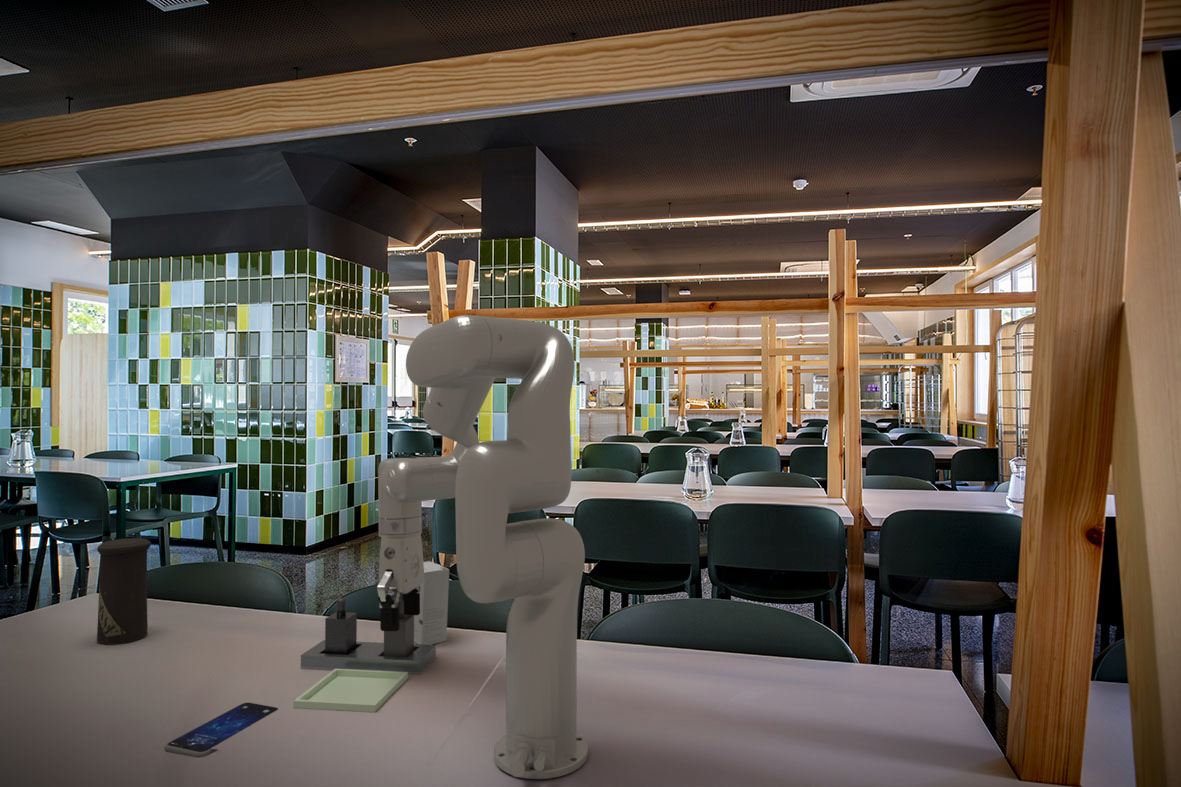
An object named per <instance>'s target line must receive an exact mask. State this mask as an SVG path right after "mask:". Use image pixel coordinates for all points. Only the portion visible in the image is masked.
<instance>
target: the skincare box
mask: <svg viewBox="0 0 1181 787" xmlns="http://www.w3.org/2000/svg"><path fill="white" fill-rule="evenodd" d="M423 564H424V581H423V583H422V584H421V585H420V588H421V589H420V592H419V593H420V614H419V615H414V644H423V645H436V644H439V643H443V641H444V642H446V641H447V632H448V630H447V629H448V612H449V611H448V610H449V590H450V589H449V584H450V569H449V568H447V567H445V566H442V565H441V564H439V563H436V562H432V561H429V560H428V561H423Z"/></svg>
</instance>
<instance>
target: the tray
mask: <svg viewBox="0 0 1181 787" xmlns="http://www.w3.org/2000/svg"><path fill="white" fill-rule="evenodd" d="M408 679H409V674H408V672H394V671H373V670H353V669H334V670H330V671H329V673H327V674H326V675H325V676H324V677H322V678H321V679H319V680H318V681H317V682H316V683H315V684H313V685H312V686H311V687H310V688H308V689H307V690H305V691H304V692H303V693H301V694H300V695H299V696H297V698H296V699H294V700H293V701H292V702H293V705H292V708H293V709H310V710H311V709H312V710H326V711H327V710H329V711H330V710H331V711H343V712H347V711H348V712H361V713H376V712H377V711H379V709H380V708H381V707H382V706H383V705H384V704H385V703H386V702H387V701H388V700H389V699H390V697H392V696H393V695H394V694H395V693H396V692H397V690H399V688H400V687H401V686H402V685H403V684H404V683H405V682H406V681H408Z"/></svg>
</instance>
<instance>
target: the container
mask: <svg viewBox="0 0 1181 787" xmlns="http://www.w3.org/2000/svg"><path fill="white" fill-rule="evenodd" d="M151 546H152V542H151V541H150V540H148V539H147V538H142V537H141V538H140V537H134V538H133V537H132V538H118V539H111V540H106V541H104V542H102V543H100V544H99V545H98V546H97V549H96V550H97V552H98V553H99V555H100V557H99V558H100V562H99V563H100V564H99V582H98V584H99V586H98V606H97V608H98V610H97V628H96V630H97V632H96V641H97V643H98V644H102V645H120V644H126V643H131V642H135V641H138V640H141V639H143V638H145V637H146V636H147V635H148V550H149V549H150V547H151Z"/></svg>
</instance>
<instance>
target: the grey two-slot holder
mask: <svg viewBox="0 0 1181 787" xmlns="http://www.w3.org/2000/svg"><path fill="white" fill-rule="evenodd" d="M357 618H358V616H357V612H347V598H346V597H339V598H337V599H336V611H335V612H334V613H332V614H330V615H329V616H327V617H326V618H325V620H324V621H325V622H324V623H325V624H324V626H325V628H324V629H325V631H324V635H325V636H324V639H323V640H322V641H320V642H319V643H317V644H316V645H314V646H313V647H310V648H309V649H308V650H307V651H305V652H304V653H302V654H301V655H300V669H303V670H323V671H333V670H334V669H353V670H373V671H394V672H408V675H421V674H422V673H423V672H424V671H425V670H426V669H427V668H428V667H429V665H431V663H433V661H434V660H435V659H436V658H437V644H431V645H423V644H416V643H414V652H413V653H412V654H411V655H410V656H409V657H408V658H404V657H384V642H376V641H375V642H374V641H373V642H372V641H357V639H358V638H357V636H358V635H357V631H358V629H357V624H358V619H357Z"/></svg>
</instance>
